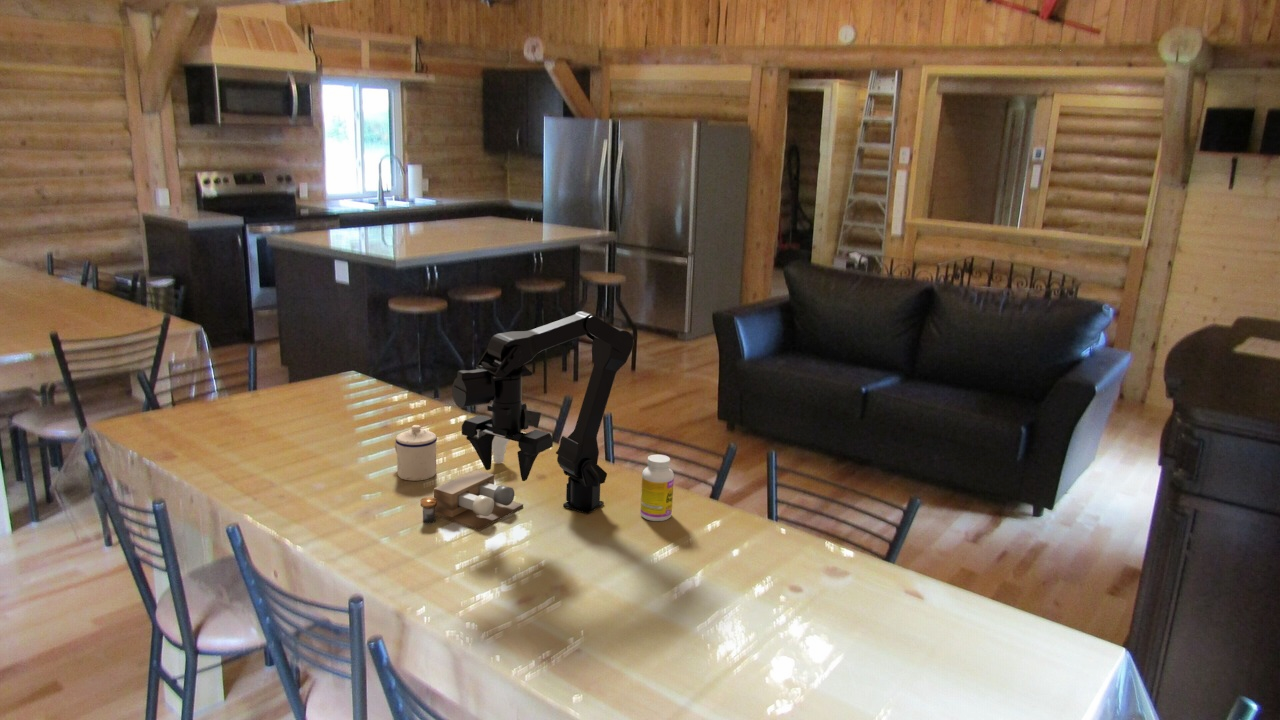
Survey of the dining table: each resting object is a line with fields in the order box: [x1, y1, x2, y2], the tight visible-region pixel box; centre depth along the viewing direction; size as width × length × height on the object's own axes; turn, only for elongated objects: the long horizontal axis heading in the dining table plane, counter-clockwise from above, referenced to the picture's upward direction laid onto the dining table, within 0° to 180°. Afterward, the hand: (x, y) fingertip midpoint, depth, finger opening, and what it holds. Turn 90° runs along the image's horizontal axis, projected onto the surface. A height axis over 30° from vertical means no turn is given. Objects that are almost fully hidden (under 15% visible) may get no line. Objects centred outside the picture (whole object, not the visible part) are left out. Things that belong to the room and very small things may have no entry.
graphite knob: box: [479, 482, 515, 506], centre depth 182 cm, size 9×4×4 cm, turn 59°
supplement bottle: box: [639, 454, 675, 522], centre depth 181 cm, size 7×7×13 cm
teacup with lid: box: [394, 424, 438, 482], centre depth 198 cm, size 12×9×12 cm
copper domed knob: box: [420, 496, 437, 524], centre depth 174 cm, size 3×3×4 cm
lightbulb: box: [492, 436, 510, 465], centre depth 205 cm, size 6×6×11 cm
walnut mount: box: [433, 469, 524, 531], centre depth 180 cm, size 13×14×6 cm
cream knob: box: [458, 492, 494, 516], centre depth 177 cm, size 9×4×4 cm, turn 59°
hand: (506, 475), depth 171 cm, fingers open, 9 cm apart
